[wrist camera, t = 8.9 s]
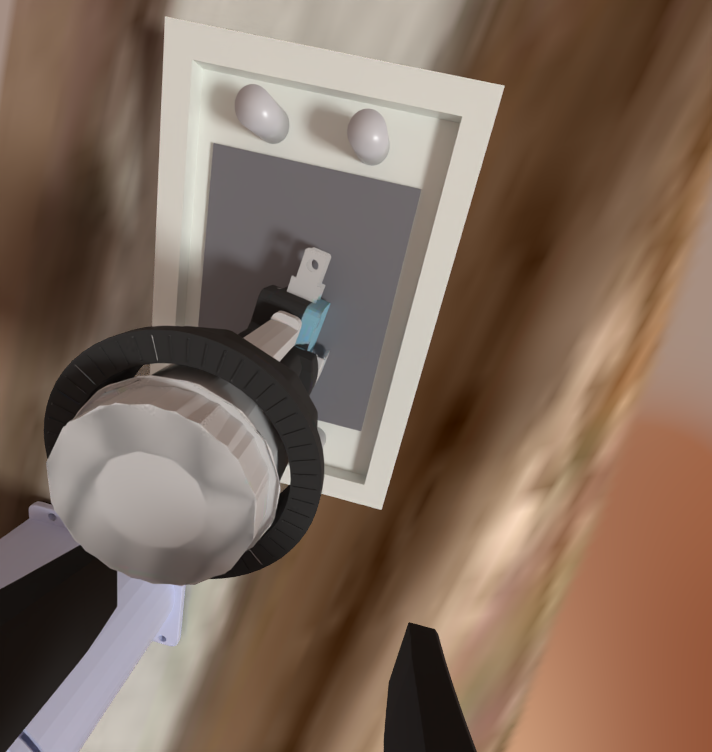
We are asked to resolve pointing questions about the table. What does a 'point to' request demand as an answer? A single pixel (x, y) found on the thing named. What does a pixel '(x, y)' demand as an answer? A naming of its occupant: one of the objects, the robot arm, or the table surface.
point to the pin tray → (318, 214)
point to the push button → (194, 441)
